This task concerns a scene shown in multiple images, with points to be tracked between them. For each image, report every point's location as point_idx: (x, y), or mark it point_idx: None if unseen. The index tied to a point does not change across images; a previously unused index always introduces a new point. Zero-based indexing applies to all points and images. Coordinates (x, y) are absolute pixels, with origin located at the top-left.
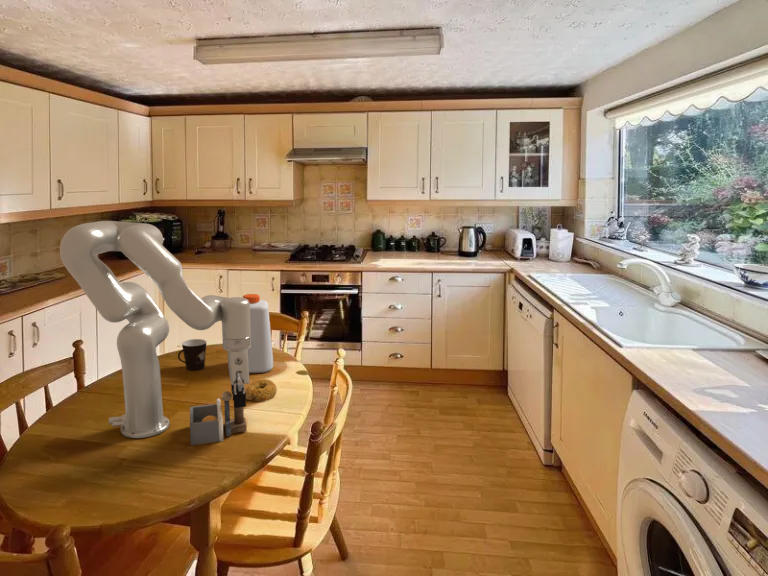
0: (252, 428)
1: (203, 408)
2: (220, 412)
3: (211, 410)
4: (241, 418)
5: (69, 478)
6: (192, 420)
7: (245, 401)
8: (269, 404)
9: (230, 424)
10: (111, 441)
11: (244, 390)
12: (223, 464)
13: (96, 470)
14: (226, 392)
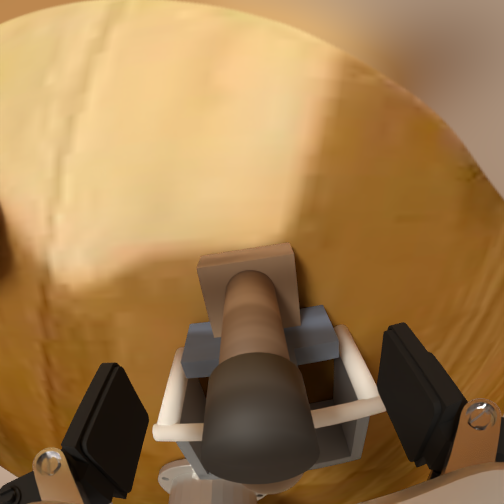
0: (249, 214)
1: (198, 449)
2: (342, 418)
3: (190, 420)
4: (274, 293)
5: (382, 491)
6: (329, 461)
7: (422, 347)
8: (13, 161)
9: (336, 336)
10: (270, 500)
11: (499, 425)
12: (478, 294)
13: (375, 482)
14: (280, 488)
